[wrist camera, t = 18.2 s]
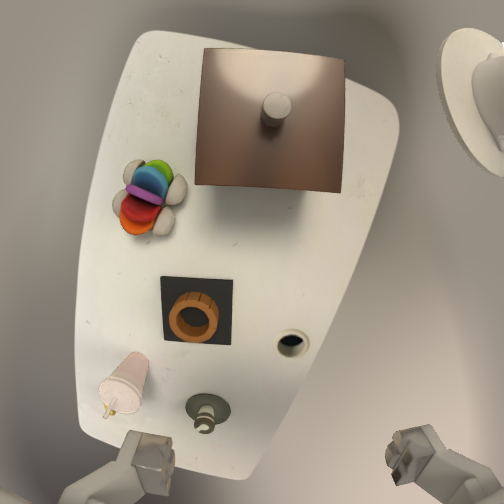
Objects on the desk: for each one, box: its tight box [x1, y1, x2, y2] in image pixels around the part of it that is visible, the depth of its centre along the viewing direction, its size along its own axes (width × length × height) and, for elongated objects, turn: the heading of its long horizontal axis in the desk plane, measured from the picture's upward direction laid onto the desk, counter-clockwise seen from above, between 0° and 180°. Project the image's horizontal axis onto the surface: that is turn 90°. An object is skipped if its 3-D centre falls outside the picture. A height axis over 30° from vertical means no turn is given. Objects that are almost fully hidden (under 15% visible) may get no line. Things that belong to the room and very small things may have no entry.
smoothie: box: [99, 352, 149, 419], centre depth 38 cm, size 6×6×14 cm
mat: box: [160, 276, 233, 345], centre depth 43 cm, size 10×10×1 cm
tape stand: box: [195, 48, 345, 193], centre depth 28 cm, size 12×12×18 cm
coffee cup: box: [186, 394, 231, 434], centre depth 45 cm, size 12×12×5 cm
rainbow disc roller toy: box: [112, 160, 188, 236], centre depth 35 cm, size 8×10×7 cm
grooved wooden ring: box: [169, 292, 219, 343], centre depth 41 cm, size 6×6×3 cm
